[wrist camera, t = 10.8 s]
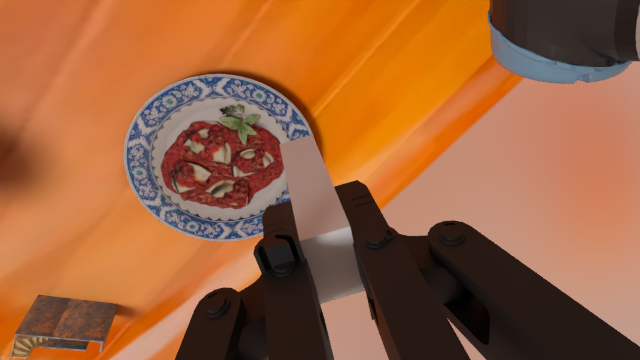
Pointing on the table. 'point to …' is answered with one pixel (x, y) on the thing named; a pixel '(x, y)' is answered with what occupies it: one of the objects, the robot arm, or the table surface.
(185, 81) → the ceramic plate
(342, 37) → the table surface
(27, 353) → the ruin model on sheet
